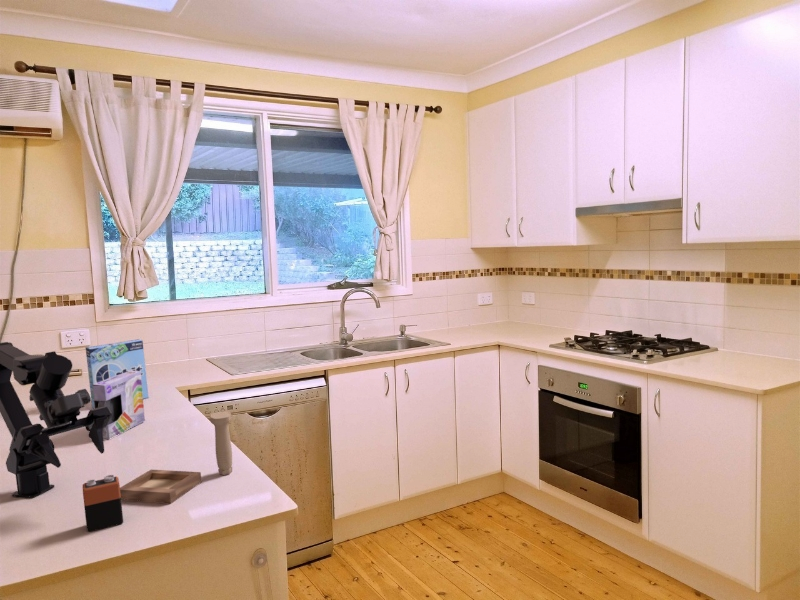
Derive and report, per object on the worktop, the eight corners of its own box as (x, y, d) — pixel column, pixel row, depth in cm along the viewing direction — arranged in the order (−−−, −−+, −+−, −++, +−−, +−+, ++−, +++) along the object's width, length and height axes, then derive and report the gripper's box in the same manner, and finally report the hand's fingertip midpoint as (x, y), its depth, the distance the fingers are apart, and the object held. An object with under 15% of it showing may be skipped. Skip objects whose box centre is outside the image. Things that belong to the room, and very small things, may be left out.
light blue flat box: (144, 396, 237) (138, 338, 234) (149, 398, 233) (143, 340, 231) (91, 407, 223) (84, 347, 221) (95, 410, 220) (89, 348, 217)
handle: (233, 467, 155) (228, 410, 153) (237, 475, 149) (232, 416, 147) (214, 470, 153) (209, 413, 151) (217, 479, 147) (211, 419, 146)
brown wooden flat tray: (118, 499, 138) (116, 489, 138) (152, 479, 150) (151, 469, 149) (170, 503, 134) (169, 492, 134) (201, 482, 146) (200, 472, 146)
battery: (123, 524, 126) (118, 478, 125) (87, 533, 122) (82, 485, 121) (122, 516, 129) (117, 471, 128) (86, 524, 126) (81, 478, 125)
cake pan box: (108, 441, 182) (102, 384, 180) (93, 441, 183) (87, 384, 181) (147, 422, 201) (141, 370, 199) (133, 421, 202) (128, 370, 200)
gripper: (13, 390, 123) (45, 451, 117) (103, 371, 138) (134, 424, 132) (2, 422, 128) (31, 482, 123) (89, 401, 143) (119, 453, 138)
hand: (81, 459), depth 129 cm, fingers open, 9 cm apart
